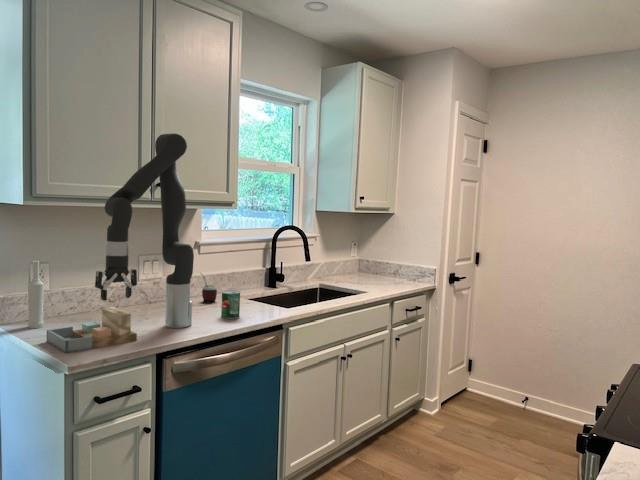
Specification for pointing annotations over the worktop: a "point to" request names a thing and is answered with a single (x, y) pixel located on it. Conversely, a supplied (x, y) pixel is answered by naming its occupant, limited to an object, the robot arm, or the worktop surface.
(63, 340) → the box
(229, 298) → the canned tomato
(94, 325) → the tile
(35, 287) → the bottle
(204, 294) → the mate gourd
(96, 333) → the tile
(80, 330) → the board
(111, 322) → the cream wooden beam
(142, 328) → the worktop surface
